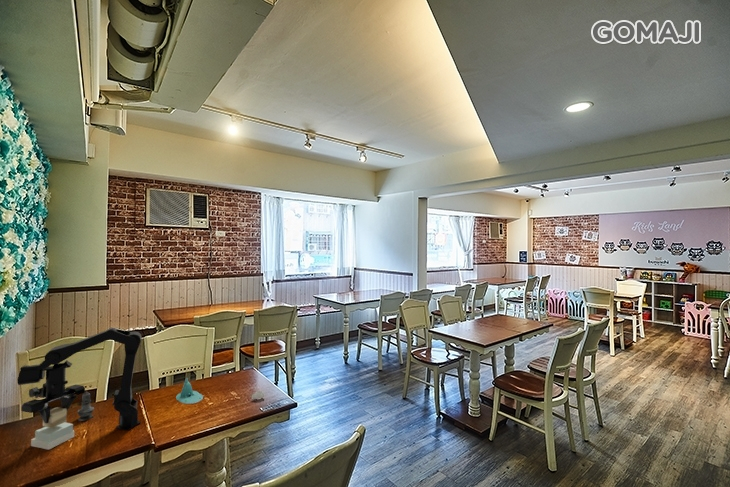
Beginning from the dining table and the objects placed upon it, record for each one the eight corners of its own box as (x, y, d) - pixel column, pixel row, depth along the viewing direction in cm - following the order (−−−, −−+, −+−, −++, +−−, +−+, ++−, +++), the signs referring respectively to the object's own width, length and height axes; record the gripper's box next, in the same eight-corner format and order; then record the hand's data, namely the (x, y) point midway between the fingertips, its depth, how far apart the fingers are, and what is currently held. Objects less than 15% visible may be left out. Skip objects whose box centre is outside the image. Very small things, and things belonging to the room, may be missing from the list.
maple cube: (66, 421, 135) (66, 408, 135) (52, 427, 130) (52, 414, 130) (57, 419, 136) (57, 407, 136) (42, 426, 131) (42, 413, 131)
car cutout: (264, 396, 176) (264, 387, 176) (265, 402, 170) (265, 393, 170) (233, 400, 171) (234, 391, 171) (233, 406, 165) (233, 397, 165)
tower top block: (72, 431, 135) (73, 424, 135) (49, 442, 128) (49, 434, 128) (59, 428, 138) (59, 420, 138) (35, 438, 130) (35, 430, 130)
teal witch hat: (184, 408, 162) (184, 390, 162) (170, 395, 175) (170, 378, 176) (209, 400, 171) (210, 383, 171) (194, 388, 184) (194, 372, 184)
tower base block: (74, 438, 136) (74, 430, 136) (48, 451, 127) (48, 443, 127) (57, 434, 138) (57, 427, 138) (31, 447, 130) (31, 439, 130)
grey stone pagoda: (84, 422, 147) (85, 394, 148) (73, 420, 149) (74, 393, 149) (97, 415, 153) (98, 388, 153) (86, 414, 154) (87, 387, 155)
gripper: (66, 369, 144) (65, 406, 144) (11, 386, 126) (10, 428, 126) (86, 372, 141) (85, 409, 141) (32, 390, 123) (31, 433, 123)
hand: (54, 419), depth 133 cm, fingers open, 5 cm apart
